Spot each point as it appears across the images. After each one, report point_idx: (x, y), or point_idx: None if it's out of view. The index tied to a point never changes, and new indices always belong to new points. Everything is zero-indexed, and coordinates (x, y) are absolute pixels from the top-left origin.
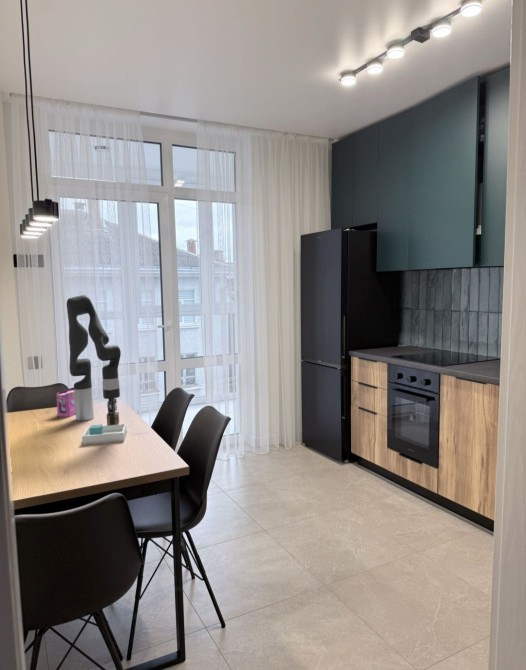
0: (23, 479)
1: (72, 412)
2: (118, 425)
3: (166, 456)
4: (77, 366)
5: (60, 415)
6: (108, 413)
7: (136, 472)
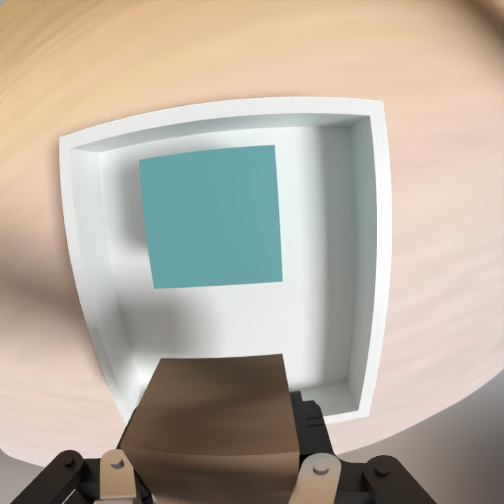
0: None
1: None
2: (362, 371)
3: (33, 455)
4: None
5: None
6: (39, 475)
7: None
